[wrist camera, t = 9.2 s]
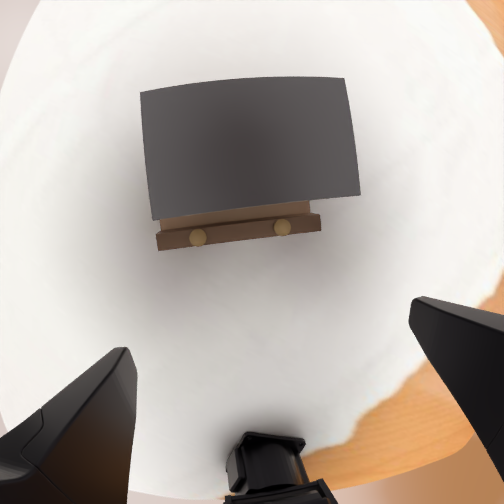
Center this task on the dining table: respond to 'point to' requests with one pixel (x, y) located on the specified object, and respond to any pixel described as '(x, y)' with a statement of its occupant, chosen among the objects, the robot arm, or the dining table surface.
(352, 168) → the grey box
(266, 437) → the robot arm
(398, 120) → the dining table surface
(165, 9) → the dining table surface
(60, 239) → the dining table surface
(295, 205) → the drawer
